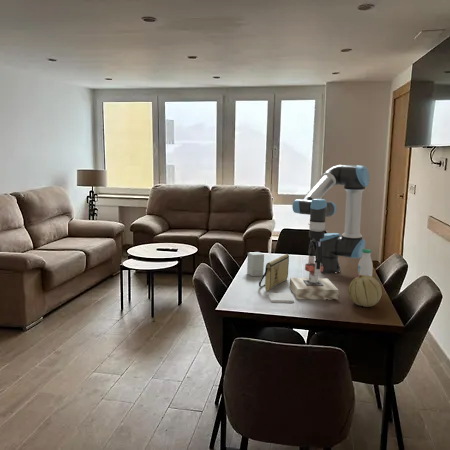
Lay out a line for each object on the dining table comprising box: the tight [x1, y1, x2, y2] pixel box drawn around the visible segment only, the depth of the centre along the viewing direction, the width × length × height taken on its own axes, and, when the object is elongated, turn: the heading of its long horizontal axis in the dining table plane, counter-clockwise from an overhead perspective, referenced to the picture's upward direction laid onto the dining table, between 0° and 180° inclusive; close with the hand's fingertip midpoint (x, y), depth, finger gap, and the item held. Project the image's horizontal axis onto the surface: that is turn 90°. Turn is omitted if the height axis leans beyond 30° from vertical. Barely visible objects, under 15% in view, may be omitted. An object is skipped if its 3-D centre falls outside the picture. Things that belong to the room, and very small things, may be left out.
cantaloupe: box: [348, 275, 383, 308], centre depth 201 cm, size 15×15×15 cm
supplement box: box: [246, 251, 265, 277], centre depth 250 cm, size 7×7×13 cm
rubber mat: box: [267, 292, 295, 304], centre depth 209 cm, size 11×11×1 cm
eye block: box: [289, 277, 339, 301], centre depth 219 cm, size 20×20×6 cm
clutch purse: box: [258, 253, 290, 292], centre depth 231 cm, size 30×7×15 cm, turn 151°
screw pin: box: [304, 262, 324, 284], centre depth 218 cm, size 9×9×15 cm
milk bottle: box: [356, 248, 374, 277], centre depth 235 cm, size 8×8×20 cm
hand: (313, 271), depth 218 cm, fingers open, 13 cm apart
